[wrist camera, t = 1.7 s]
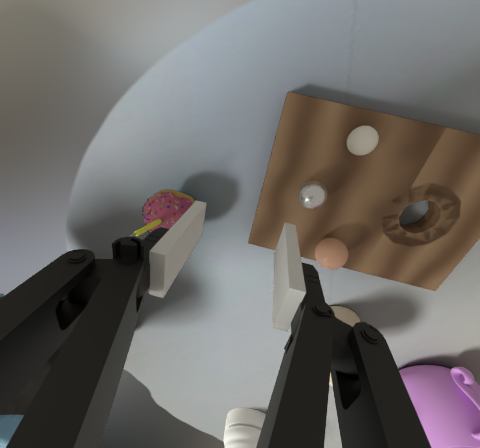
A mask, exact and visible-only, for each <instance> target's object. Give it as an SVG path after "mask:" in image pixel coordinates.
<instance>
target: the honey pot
mask: <svg viewBox="0 0 480 448" xmlns="http://www.w3.org/2000/svg"><path fill="white" fill-rule="evenodd" d="M265 416H266V414H264V413H262V412H260V411H258V410H254V409H250V408H237V409H233V410H231V411H230V412H229V413H228V415H227V420H226V426H225V433H224V445H225V448H256V446H257V443H258V440H259V436H260V433H261V430H262V426H263V423H264V420H265Z"/></svg>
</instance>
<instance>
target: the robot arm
mask: <svg viewBox="0 0 480 448" xmlns="http://www.w3.org/2000/svg"><path fill="white" fill-rule="evenodd" d="M206 204H207V203H205V202H201V201H197V200H196V201H195V202H194V204H193V205H192V206H191V207H190V208H189V209H188V210H187V211H186V212H185V213H184V214H183V215H182V217H181V218H180V219H179V220H178V221H177V222H176V223H175V224H174V225H173V226H172V227H171V228H170V229H167V228H163V227H160V228H157V229H155V230H153V231H152V232H151V233H150V234H149V235H148V236H147V237H146V238H145V239H144V240H140V239H138V238H135V237H124V238H120V239H118V240H116V241H114V242H113V243H112V249H113V259H95V255H94V253H93V252H92V251H89V250H85V249H78V250H72V251H69V252H67V253H65V254H63V255H61V256H60V257H59V258H57V259H56V260H54V261H53V262H51V263H50V264H49V265H47V266H46V267H44V268H43V269H42V270H40V271H39V272H38V273H36V274H35V275H33V276H32V277H30V278H29V279H28V280H26V281H25V282H23V283H22V284H21V285H19V286H18V287H16V288H15V289H14V290H12V291H11V292H9V293H8V294H7V295H4V294H0V448H99V447H100V443H101V440H102V437H103V434H104V430H105V427H106V424H107V420H108V417H109V414H110V410H111V407H112V404H113V401H114V397H115V394H116V391H117V388H118V384H119V381H120V378H121V374H122V371H123V368H124V364H125V361H126V358H127V354H128V351H129V348H130V345H131V341H132V338H133V335H134V331H135V328H136V325H137V321H138V318H139V315H140V311H141V308H142V305H143V302H144V293H145V291H146V290H147V289H148V287H149V295H153V296H157V297H161V298H164V296H165V295H166V293H167V291H168V290H169V288H170V286H171V285H172V283H173V282H174V280H175V278H176V277H177V275H178V273H179V272H180V270H181V269H182V267H183V265H184V264H185V262H186V260H187V259H188V257H189V256H190V254H191V252H192V251H193V249H194V247H195V246H196V244H197V243H198V241H199V239H200V238H201V236H202V233H203V225H204V218H205V211H206ZM290 326H291V332H292V333H291V335H290V337H289V339H288V342H287V344H286V346H285V348H284V349H285V353H284V356H283V360H282V363H281V366H280V370H279V373H278V376H277V380H276V383H275V386H274V390H273V393H272V396H271V400H270V403H269V406H268V410H267V413H266V416H265V420H264V423H263V426H262V430H261V433H260V436H259V440H258V443H257V446H256V448H324V439H325V427H326V416H327V404H328V393H329V382H330V372H331V378H332V385H333V391H334V397H335V403H336V410H337V416H338V422H339V429H340V435H341V441H342V447H343V448H432V447H431V445H430V443H429V440H428V438H427V436H426V433H425V431H424V429H423V426H422V424H421V422H420V419H419V417H418V415H417V412H416V410H415V408H414V405H413V403H412V401H411V398H410V396H409V394H408V391H407V389H406V386H405V384H404V382H403V379H402V377H401V375H400V372H399V370H398V368H397V365H396V363H395V361H394V358H393V356H392V354H391V351H390V349H389V347H388V344H387V342H386V340H385V338H384V337H383V335H382V334H381V333H380V332H379V331H378V330H377V329H376V328H374V327H373V326H371V325H369V324H367V323H364V322H358V323H355V325H354V326H353V327H352V326H351V325H349V324H347V323H345V322H343V321H341V320H339V319H338V318H336V317H335V314H334V311H333V310H332V308H331V307H330V306H329V305H328V304H326V303H325V299H324V295H323V291H322V287H321V285H320V280H319V276H318V272H317V270H316V269H315V268H314V266H313V265H309V264H306V263H302V262H301V257H300V250H299V244H298V238H297V232H296V225H293V224H289V223H285V224H284V227H283V230H282V233H281V236H280V238H279V241H278V244H277V247H276V250H275V253H274V292H273V328H275V329H279V330H282V331H286V332H288V330H289V328H290Z"/></svg>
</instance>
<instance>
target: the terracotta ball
mask: <svg viewBox="0 0 480 448" xmlns="http://www.w3.org/2000/svg"><path fill="white" fill-rule="evenodd" d="M314 254H315V258H316V260H317V262H318V263H319V264H320V265H321V266H322V267H324V268H327V269H338V268H340V267H342V266H343V265H344V264H345V263H346V262H347V259H348V249H347V247H346V245H345V244H344V243H343V242H342V241H340V240H339V239H336V238H325V239H323V240H321V241H320V242H319V243H318V244H317V245H316V247H315V252H314Z"/></svg>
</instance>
